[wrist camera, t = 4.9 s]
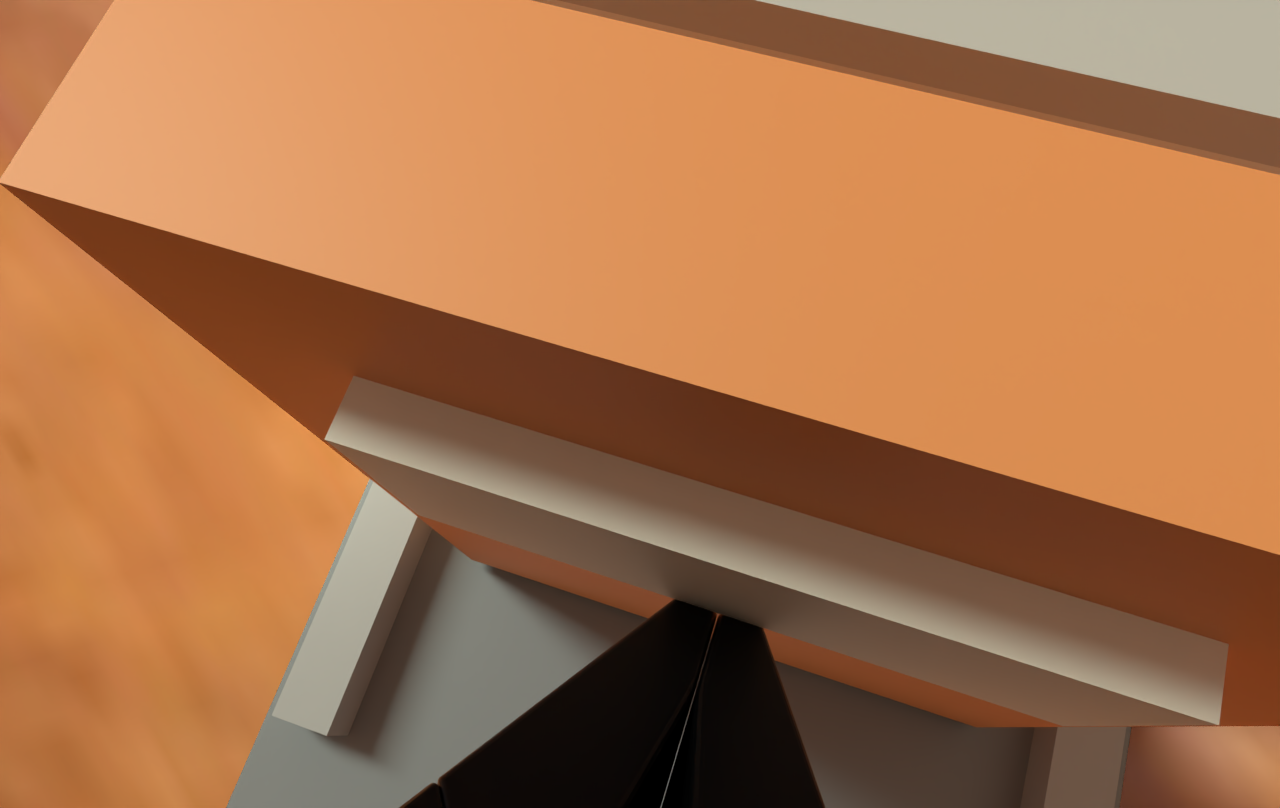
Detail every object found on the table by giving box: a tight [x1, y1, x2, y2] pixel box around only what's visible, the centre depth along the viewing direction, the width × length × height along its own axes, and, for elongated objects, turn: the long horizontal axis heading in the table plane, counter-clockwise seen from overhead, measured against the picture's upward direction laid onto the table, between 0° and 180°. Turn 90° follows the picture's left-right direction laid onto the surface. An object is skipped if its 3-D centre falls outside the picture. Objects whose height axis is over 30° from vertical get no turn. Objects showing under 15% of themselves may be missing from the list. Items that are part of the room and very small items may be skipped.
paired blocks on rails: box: [226, 0, 1280, 808], centre depth 12 cm, size 20×14×11 cm
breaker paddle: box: [0, 0, 1280, 727], centre depth 10 cm, size 2×9×12 cm, turn 72°
